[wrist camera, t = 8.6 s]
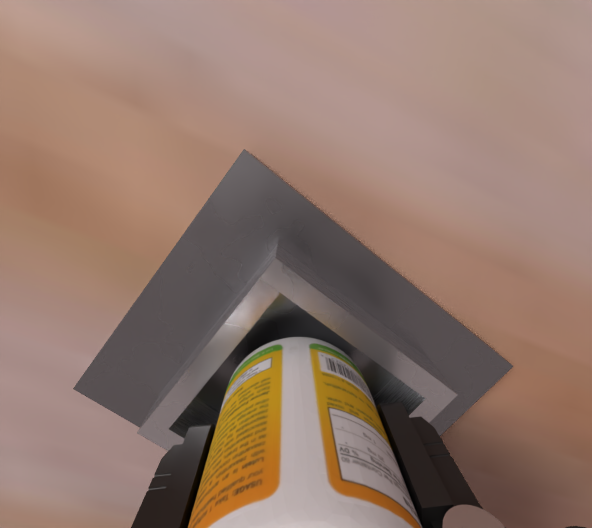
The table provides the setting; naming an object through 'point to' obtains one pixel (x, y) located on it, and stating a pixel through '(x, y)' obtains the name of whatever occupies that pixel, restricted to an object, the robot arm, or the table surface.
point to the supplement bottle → (301, 447)
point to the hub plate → (279, 316)
